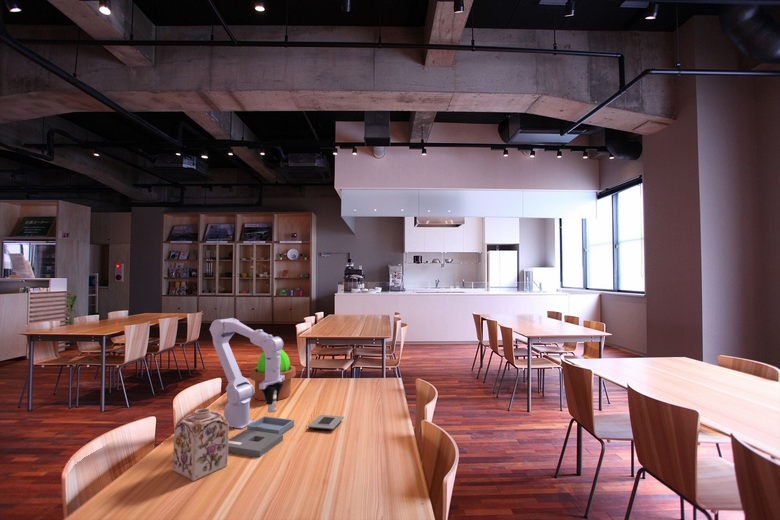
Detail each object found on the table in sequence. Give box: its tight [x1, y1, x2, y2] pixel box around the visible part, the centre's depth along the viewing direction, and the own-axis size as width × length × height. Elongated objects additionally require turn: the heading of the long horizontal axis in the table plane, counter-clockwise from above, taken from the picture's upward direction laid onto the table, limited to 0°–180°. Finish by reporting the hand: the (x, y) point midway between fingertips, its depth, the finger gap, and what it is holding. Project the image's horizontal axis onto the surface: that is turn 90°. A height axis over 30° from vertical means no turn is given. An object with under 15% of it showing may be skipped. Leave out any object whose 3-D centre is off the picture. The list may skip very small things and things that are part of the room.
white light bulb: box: [267, 390, 277, 413], centre depth 150 cm, size 3×3×8 cm
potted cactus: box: [249, 348, 297, 402], centre depth 193 cm, size 22×22×25 cm
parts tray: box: [246, 415, 295, 435], centre depth 150 cm, size 14×11×2 cm
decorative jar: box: [172, 407, 230, 482], centre depth 119 cm, size 12×12×18 cm
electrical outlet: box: [307, 414, 345, 431], centre depth 154 cm, size 13×10×2 cm
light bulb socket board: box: [228, 429, 284, 458], centre depth 135 cm, size 16×14×2 cm
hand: (272, 402), depth 150 cm, fingers closed on white light bulb, 3 cm apart
